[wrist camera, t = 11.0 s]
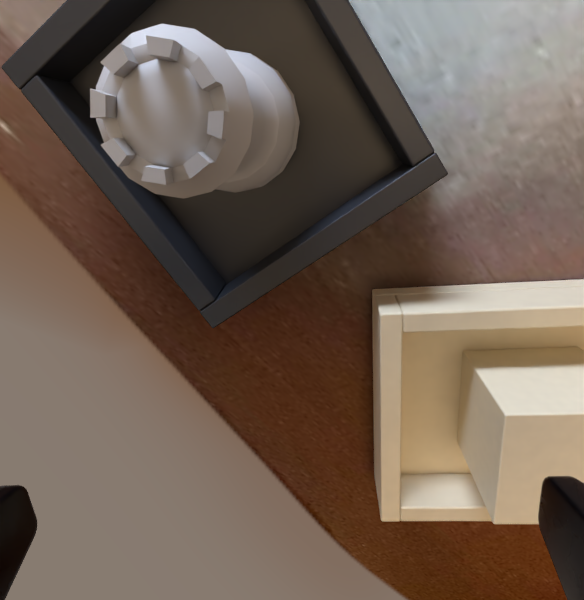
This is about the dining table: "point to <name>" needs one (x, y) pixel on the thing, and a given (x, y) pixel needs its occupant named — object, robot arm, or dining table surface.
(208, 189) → the rook chess piece
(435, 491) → the cream tray
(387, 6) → the dining table surface
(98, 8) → the charcoal tray
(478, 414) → the cream block
